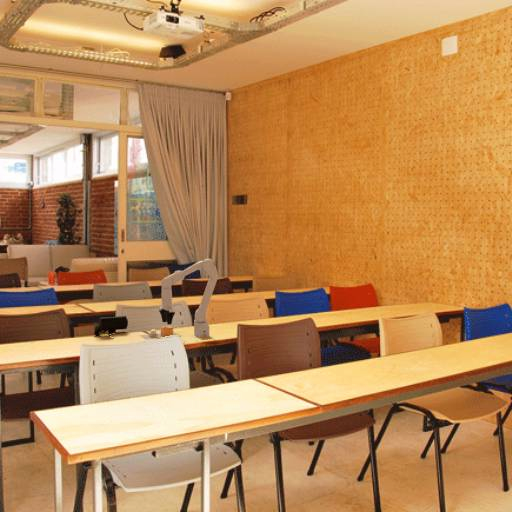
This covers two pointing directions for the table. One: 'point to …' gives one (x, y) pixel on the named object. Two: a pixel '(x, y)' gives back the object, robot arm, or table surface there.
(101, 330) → the security camera
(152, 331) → the button
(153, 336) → the breaker panel
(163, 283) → the robot arm
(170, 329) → the orange block
